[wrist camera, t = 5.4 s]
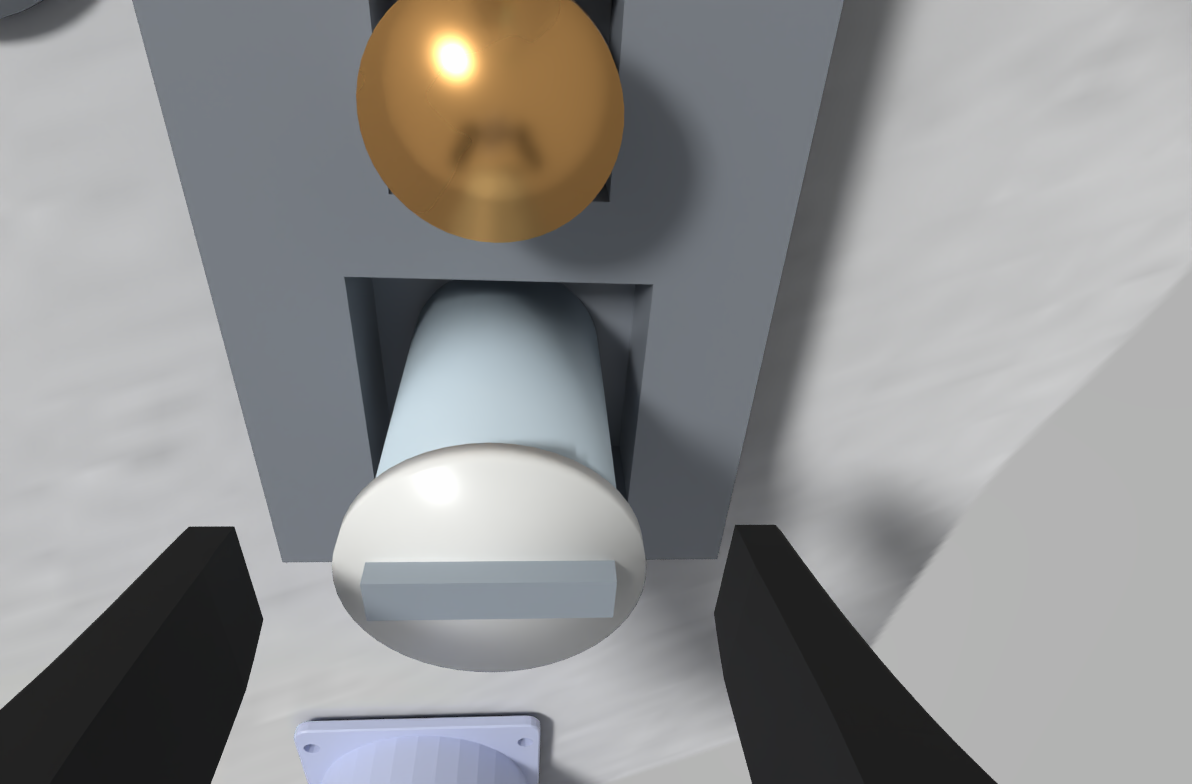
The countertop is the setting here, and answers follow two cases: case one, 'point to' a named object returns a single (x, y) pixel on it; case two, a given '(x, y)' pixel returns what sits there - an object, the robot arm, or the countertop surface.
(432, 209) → the plunger
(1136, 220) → the countertop surface
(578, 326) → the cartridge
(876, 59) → the countertop surface
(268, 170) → the grey flat block
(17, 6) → the pad
